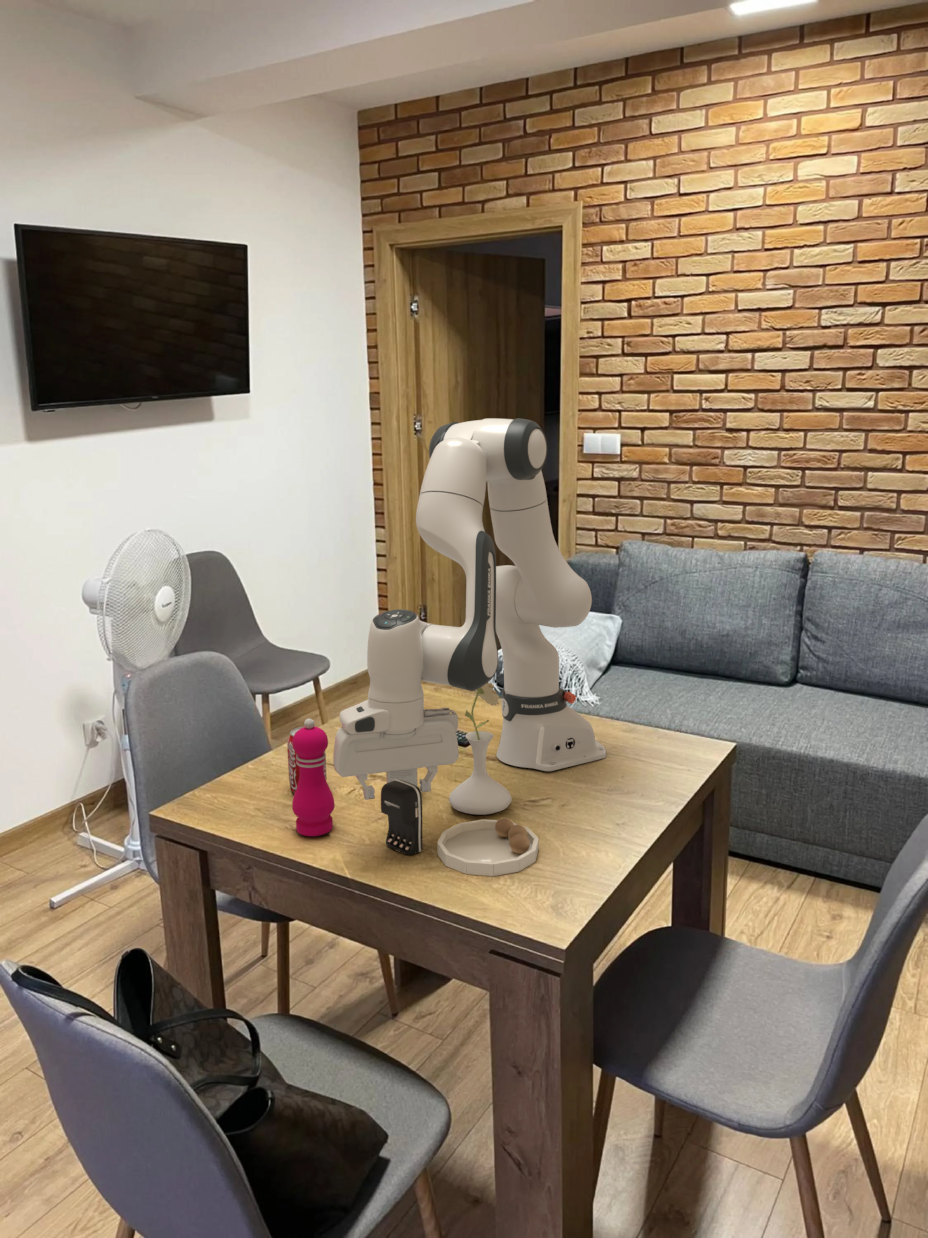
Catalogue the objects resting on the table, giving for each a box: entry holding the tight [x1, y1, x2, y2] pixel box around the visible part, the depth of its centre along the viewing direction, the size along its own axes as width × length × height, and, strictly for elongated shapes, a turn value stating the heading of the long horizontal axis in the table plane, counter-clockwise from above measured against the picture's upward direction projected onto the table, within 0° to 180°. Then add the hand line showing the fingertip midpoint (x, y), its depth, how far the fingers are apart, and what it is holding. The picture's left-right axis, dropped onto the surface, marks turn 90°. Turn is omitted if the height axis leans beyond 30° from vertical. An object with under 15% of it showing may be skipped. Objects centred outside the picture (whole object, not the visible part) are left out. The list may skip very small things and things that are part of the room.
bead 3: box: [510, 834, 530, 854], centre depth 155 cm, size 3×3×3 cm
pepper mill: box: [291, 718, 336, 837], centre depth 165 cm, size 7×7×20 cm
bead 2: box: [508, 824, 527, 840], centre depth 159 cm, size 3×3×3 cm
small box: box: [385, 768, 419, 788], centre depth 179 cm, size 8×6×10 cm
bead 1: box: [495, 817, 514, 837], centre depth 161 cm, size 3×3×3 cm
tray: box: [436, 818, 540, 877], centre depth 157 cm, size 16×16×2 cm
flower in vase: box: [448, 682, 513, 816], centre depth 173 cm, size 13×11×25 cm
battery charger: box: [380, 779, 424, 856], centre depth 158 cm, size 7×4×11 cm, turn 47°
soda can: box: [286, 725, 328, 794], centre depth 182 cm, size 7×7×12 cm
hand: (397, 794), depth 156 cm, fingers open, 8 cm apart
